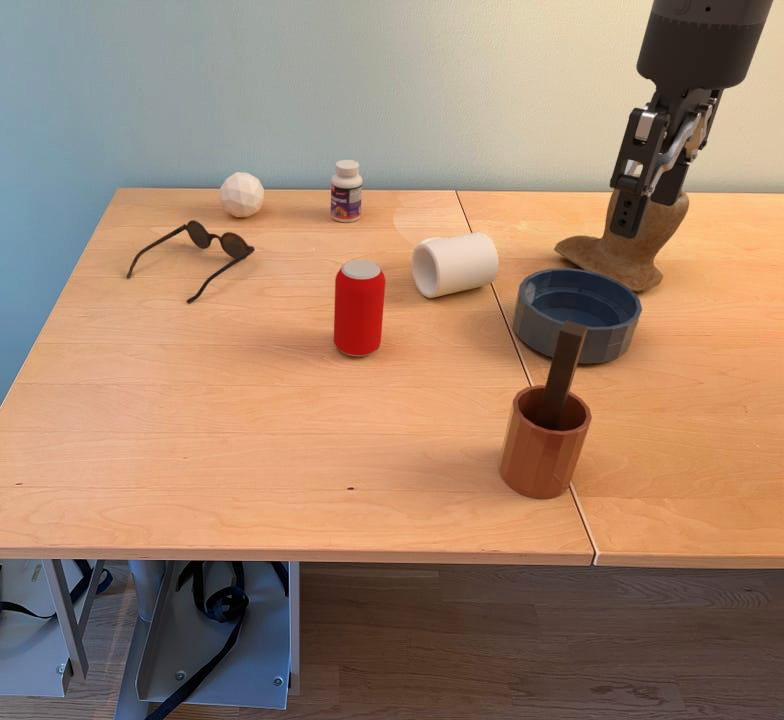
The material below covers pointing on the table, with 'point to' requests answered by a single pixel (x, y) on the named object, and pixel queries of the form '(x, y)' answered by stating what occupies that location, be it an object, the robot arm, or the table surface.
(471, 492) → the table surface
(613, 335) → the bowl
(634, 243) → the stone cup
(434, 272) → the mug
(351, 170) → the pill bottle
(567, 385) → the stick
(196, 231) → the eyeglasses
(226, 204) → the geometric ball
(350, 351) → the beverage can
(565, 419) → the holder
